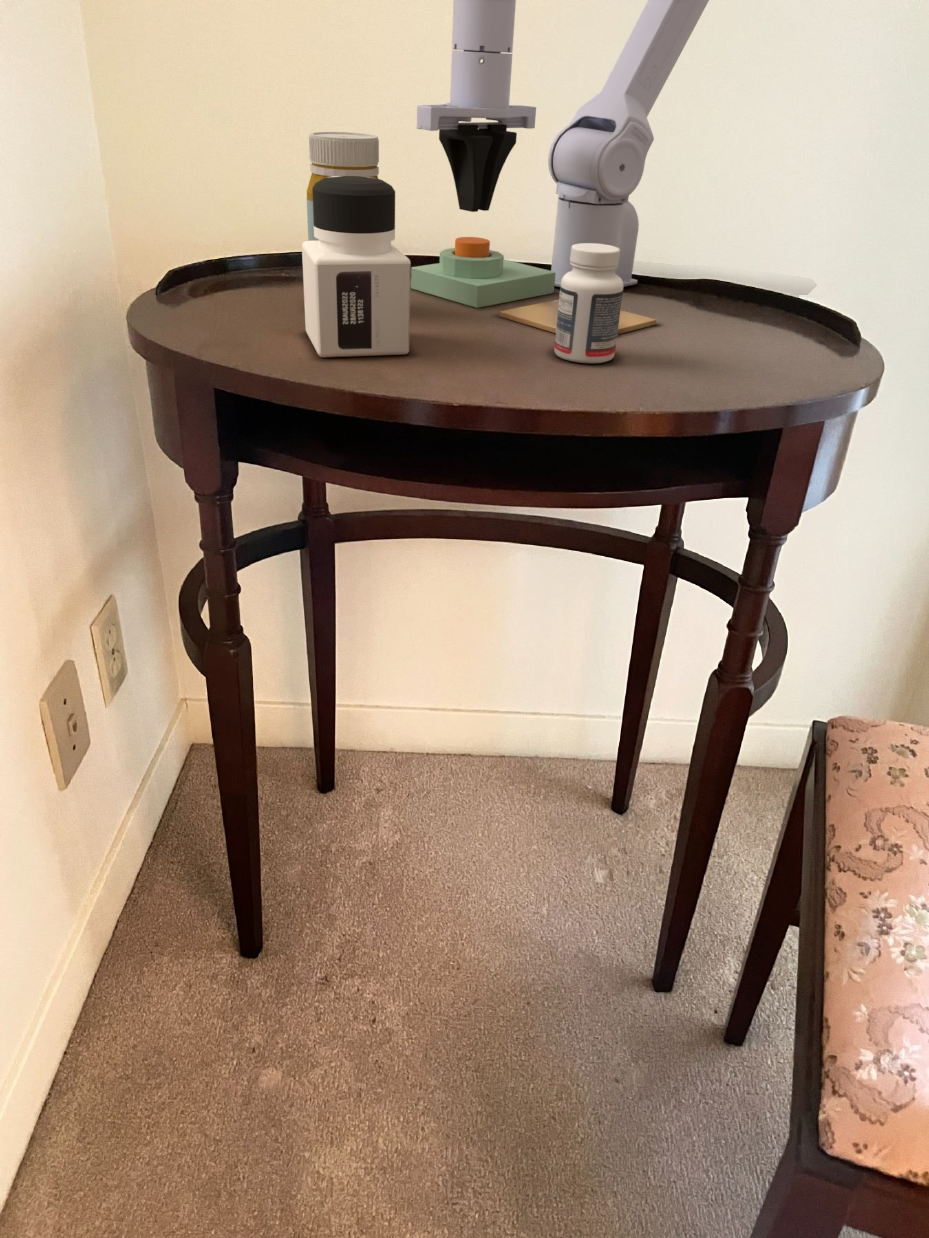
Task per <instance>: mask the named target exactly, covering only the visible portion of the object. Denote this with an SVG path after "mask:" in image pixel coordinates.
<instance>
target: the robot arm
mask: <svg viewBox="0 0 929 1238" xmlns="http://www.w3.org/2000/svg"><path fill="white" fill-rule="evenodd" d="M709 2H710V0H647V1H646V4H645V6H644V7H643V9H642V11H641V13H640V14H639V17H638V19H637V21H636V22H635V25H634V27H633V29H632V31H631V32H630V34H629V36H628V39H627V41H626V42H625V44H624V46H623V48H622V50H621V52H620V54H619V55H618V58H617V60H616V62H615V64H614V65H613V67H612V70H611V71H610V73H609V75H608V77H607V78H606V79H607V80H606V81H605V83H604V85H603V87H602V88H601V91H600V92H598V94H596V95H595V96H594V97H591V99H589V100H588V101H587V102H585V103H584V104H582V105H581V106H580V107H578V108H577V110H576V112H575V114H574V116H573V118H572V120H571V121H570V122H569V123H568V125H566V126H565V127H564V128H563V129H561V130H560V131H559V132H558V133H557V134H556V136H555V137H554V139H553V140H552V143H551V145H550V148H549V151H548V159H547V163H548V164H547V165H548V166H547V167H548V171H549V174H550V176H551V179H552V180H553V182H554V183H555V184H556V188H555V189H556V190H555V194H557V204H556V205H557V206H556V216H555V226H554V236H553V245H552V255H551V267H550V271H553V272H556V274H555V284H554V287H557V288H560V285H561V280H562V278H563V276H564V275H565V274H566V273H568V272H570V271H572V269H573V266H572V265H571V264H570V262H571V261H570V256H571V248H572V245H575V244H580V243H596V244H605V245H610V246H614V247H617V248H619V249H620V255H619V264H618V268H616V269H615V274H616V275H618V276H619V277H620V278H621V279H622V281H623V288H624V287H630V286H635V285H638V279H635V278H632V276H633V270H634V264H635V263H634V262H635V255H636V250H637V249H636V248H637V243H638V242H637V241H638V235H639V226H640V223H639V216H638V213H637V210H636V207H635V206H634V204H632V203H631V202H630V201H629V198H630V195H631V194H632V193H634V191H635V190H636V189H637V187H638V185H639V184H640V182H641V180H642V176H643V174H644V171H645V170H644V169H645V166H646V165H645V164H646V158H647V157H648V156H647V155H648V153H649V150H650V148H651V146H652V144H653V142H654V140H655V138H654V133H653V131H652V128H651V126H650V122H649V119H648V116H649V114H650V113H651V110H652V109H653V107H654V105H655V103H656V101H657V99H658V98H659V95H660V94H661V91H662V90H663V88H664V86H665V84H666V82H667V80H668V79H669V76H670V75H671V73H672V71H673V69H674V67H675V65H676V64H677V63H678V62H677V61H678V60H679V58H680V56H681V54H682V52H683V50H684V49H685V47H686V45H687V43H688V41H689V39H690V37H691V36H692V33H693V31H694V30H695V27H696V26H697V24H698V22H699V21H700V18H701V17H702V15H703V13H704V10H705V9H706V7H707V5H708V4H709ZM452 3H453V4H452V11H453V12H452V30H451V31H452V32H451V36H452V37H451V62H450V64H451V65H450V91H449V92H450V93H449V102H445V103H443V104H441V103H440V104H423V105H421V104H419V105H417V106H416V129H417V130H423V131H429V132H435V131H438V140H439V142H440V144H441V146H442V148H443V151H444V152H445V155H446V157H447V160H448V163H449V166H450V169H451V172H452V176H453V177H452V178H453V181H454V186H455V191H456V197H457V203H458V207H459V210H461V211H466V212H470V213H476V212H479V211H483V212H485V211H486V212H487V211H490V208H491V204H492V201H493V197H494V193H495V190H496V186H497V183H498V181H499V178H500V174H501V172H502V170H503V168H504V165H505V164H506V161H507V159H508V157H509V155H510V154H511V152H512V150H513V149H514V147H515V146H516V144H517V136H518V133H517V132H516V131H510V130H509V131H508V130H507V129H530V130H531V129H535V128H536V117H537V115H536V114H537V106H531V105H518V104H517V105H513V104H511V105H510V100H511V99H510V97H511V82H512V68H513V67H512V66H513V49H514V36H515V35H514V34H515V20H516V6H517V5H516V4H517V0H453V2H452ZM481 61H482V62H481ZM472 119H485V120H488V121H489V122H488V121H487V122H486V121H483V122H482V121H481V122H480V121H479V122H477V121H476V122H474V121H473V122H472Z"/></svg>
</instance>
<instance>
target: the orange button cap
mask: <svg viewBox="0 0 929 1238" xmlns="http://www.w3.org/2000/svg"><path fill="white" fill-rule="evenodd" d="M490 246H491V241H490V240H489V239H487V238H483V237H477V236H460V237H457V238H455V240H454V248H455V255H456V256H460V257H469V258H485V257H489V250H491V249H490V248H491V247H490Z"/></svg>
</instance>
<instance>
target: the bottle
mask: <svg viewBox="0 0 929 1238" xmlns="http://www.w3.org/2000/svg"><path fill="white" fill-rule="evenodd" d="M308 148H309V151H308V152H309V160H310V164H309V169H310V173H311V174H310V177H309V181H308V185H307V189H306V215H307V217H306V218H307V238H308V239H307V241H319V239H317V238H315V237H314V220H313V193H312V188H313V186H314V185H315V183H316V182H318V181H320V180H322V179H324V178H326V177H333V176H361V177H370V178H376V179H379V177H378V175H379V174H380V167H379V166H378V165H379V163H380V140H379V136H378V135H375V134H369V133H360V132H346V131H313V132H310V133H309V136H308Z"/></svg>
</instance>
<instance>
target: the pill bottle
mask: <svg viewBox="0 0 929 1238" xmlns="http://www.w3.org/2000/svg"><path fill="white" fill-rule="evenodd" d="M619 255H620V249H619V248H617V247H614V246H610V245H605V244H596V243H580V244H575V245H572V248H571V256H570V261H571V262H570V264H571V265H572V266H573V269H572V271H570V272H568V273H566V274H565V275H564V276H563V278H562V280H561V285H560V287H559V294H558V295H559V297H558V299H559V305H558V316H557V326H556V333H555V335H554V336H555V338H554V349H553V351H554V354H555V355H556V356H557V357H558V358H560V359H562V360H564V361H569V362H572V363H579V364H580V363H581V364H602V363H606V362H609V361H611V360H613V359H614V357H615V354H616V350H617V339H618V334H617V333H618V325H619V318H620V310H622V301H623V294H624V287H623V281H622V279H621V278H620V277H619V276H618V275H616V274H615V269H616V268H618V264H619Z"/></svg>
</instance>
